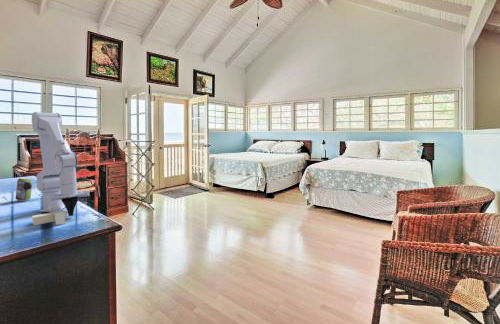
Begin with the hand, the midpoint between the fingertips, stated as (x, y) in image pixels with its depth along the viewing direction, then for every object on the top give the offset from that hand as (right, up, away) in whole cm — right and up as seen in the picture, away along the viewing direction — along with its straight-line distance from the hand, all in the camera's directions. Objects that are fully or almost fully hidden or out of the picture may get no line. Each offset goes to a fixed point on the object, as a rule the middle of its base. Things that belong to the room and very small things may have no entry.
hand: (70, 215), depth 112 cm
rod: (-6, -2, -4) cm, 7 cm away
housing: (-3, -1, -3) cm, 5 cm away
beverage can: (-43, +2, +29) cm, 52 cm away
